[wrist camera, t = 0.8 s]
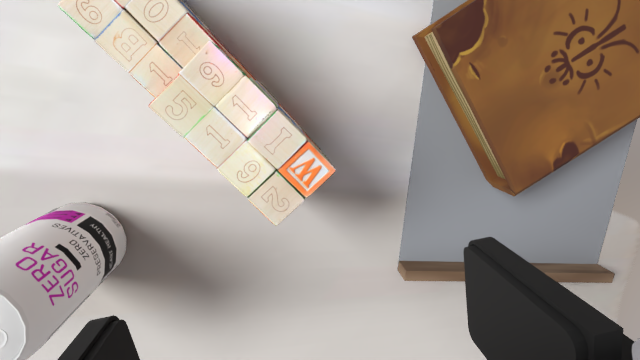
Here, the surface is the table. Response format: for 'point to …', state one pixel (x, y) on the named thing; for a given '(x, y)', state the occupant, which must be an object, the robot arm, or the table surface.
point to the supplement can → (53, 272)
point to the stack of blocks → (208, 99)
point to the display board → (503, 201)
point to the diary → (535, 80)
